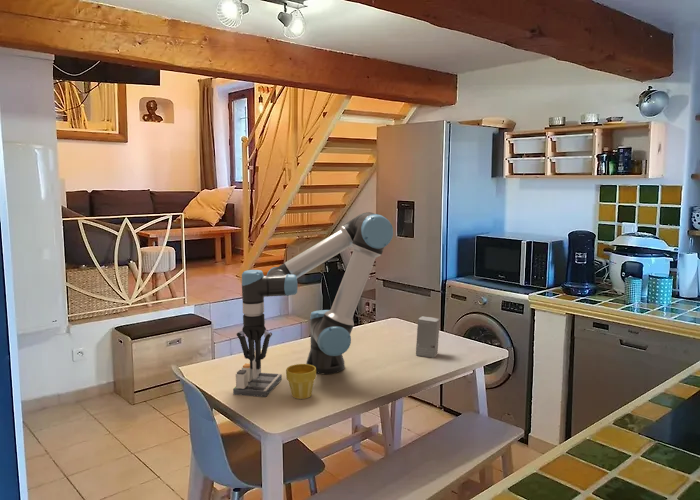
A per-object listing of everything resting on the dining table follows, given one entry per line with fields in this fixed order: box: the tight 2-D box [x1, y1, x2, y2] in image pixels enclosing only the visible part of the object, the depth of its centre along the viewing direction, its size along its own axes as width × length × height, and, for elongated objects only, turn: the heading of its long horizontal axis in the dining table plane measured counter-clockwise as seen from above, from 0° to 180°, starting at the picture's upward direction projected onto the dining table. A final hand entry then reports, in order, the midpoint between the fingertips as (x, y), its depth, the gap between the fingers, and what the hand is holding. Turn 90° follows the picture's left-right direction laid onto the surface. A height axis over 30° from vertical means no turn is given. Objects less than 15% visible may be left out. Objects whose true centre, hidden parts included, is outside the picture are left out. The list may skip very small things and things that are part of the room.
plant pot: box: [285, 363, 317, 400], centre depth 193 cm, size 10×10×10 cm
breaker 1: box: [235, 369, 248, 389], centre depth 195 cm, size 3×4×6 cm
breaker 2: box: [241, 363, 253, 382], centre depth 202 cm, size 3×4×6 cm
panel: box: [232, 372, 283, 398], centre depth 201 cm, size 12×17×2 cm
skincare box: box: [415, 315, 441, 359], centre depth 236 cm, size 8×7×16 cm
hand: (255, 377), depth 201 cm, fingers closed
